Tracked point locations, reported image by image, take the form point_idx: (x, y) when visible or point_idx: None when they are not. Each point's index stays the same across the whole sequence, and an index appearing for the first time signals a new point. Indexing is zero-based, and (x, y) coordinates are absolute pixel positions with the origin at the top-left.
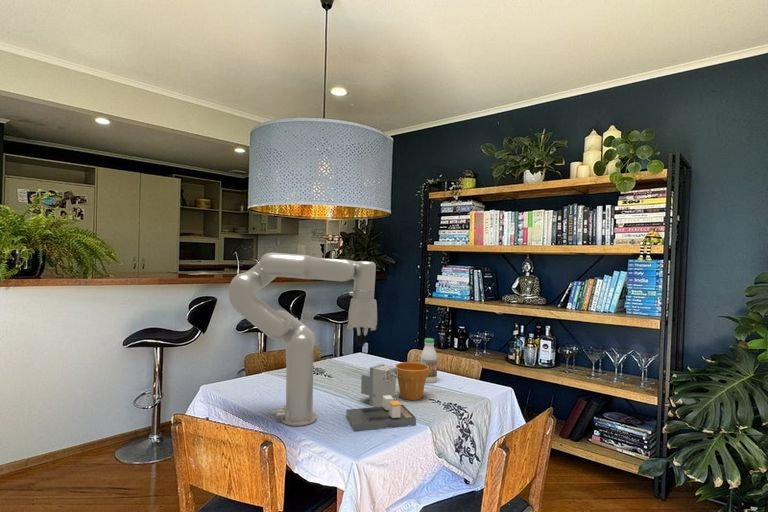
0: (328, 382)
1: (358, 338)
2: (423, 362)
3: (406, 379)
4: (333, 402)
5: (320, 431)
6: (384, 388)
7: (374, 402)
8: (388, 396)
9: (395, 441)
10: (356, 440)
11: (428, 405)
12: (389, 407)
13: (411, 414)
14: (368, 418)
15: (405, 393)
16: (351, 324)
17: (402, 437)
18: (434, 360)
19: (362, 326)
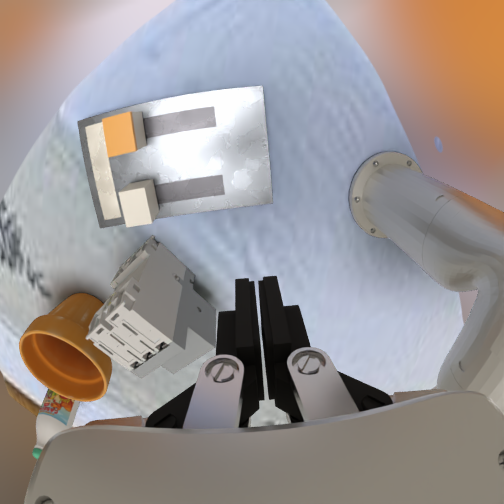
0: None
1: (296, 335)
2: (63, 416)
3: (77, 323)
4: (289, 299)
5: (349, 107)
6: (141, 271)
7: (179, 267)
8: (133, 214)
9: (160, 20)
10: (262, 34)
11: (49, 256)
12: (140, 142)
13: (84, 148)
14: (214, 120)
15: (94, 307)
16: (488, 404)
17: (136, 42)
18: (40, 412)
19: (298, 430)
